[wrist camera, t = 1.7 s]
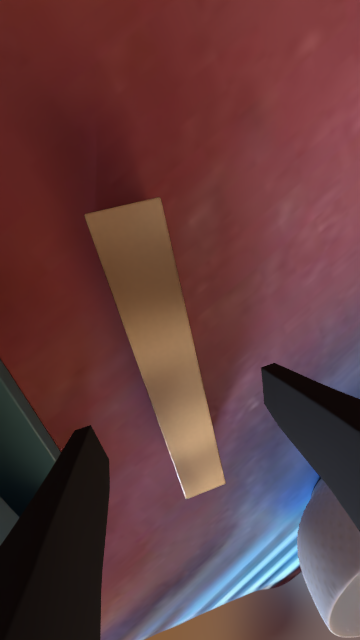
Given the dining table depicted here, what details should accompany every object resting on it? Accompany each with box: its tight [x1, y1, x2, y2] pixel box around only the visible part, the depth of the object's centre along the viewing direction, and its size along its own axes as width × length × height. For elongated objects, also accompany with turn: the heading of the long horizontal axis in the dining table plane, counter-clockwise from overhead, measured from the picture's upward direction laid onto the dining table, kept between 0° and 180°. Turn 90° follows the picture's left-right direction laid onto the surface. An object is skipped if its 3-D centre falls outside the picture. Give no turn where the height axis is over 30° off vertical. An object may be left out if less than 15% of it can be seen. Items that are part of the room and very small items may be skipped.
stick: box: [84, 197, 225, 499], centre depth 12 cm, size 16×3×3 cm, turn 13°
